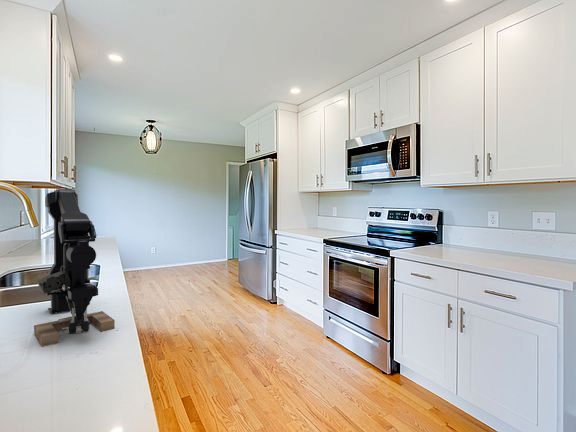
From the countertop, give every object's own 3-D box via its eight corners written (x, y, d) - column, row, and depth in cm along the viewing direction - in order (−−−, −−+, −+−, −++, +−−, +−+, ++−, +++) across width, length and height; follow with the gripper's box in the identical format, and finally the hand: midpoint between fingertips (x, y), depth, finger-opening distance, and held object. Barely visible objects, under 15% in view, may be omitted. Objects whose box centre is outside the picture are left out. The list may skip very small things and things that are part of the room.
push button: (60, 337, 85) (60, 301, 85) (63, 330, 90) (64, 295, 89) (89, 333, 88) (89, 298, 88) (91, 326, 93) (91, 293, 93)
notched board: (34, 334, 87) (34, 323, 87) (102, 318, 100) (102, 309, 99) (41, 346, 80) (41, 335, 79) (114, 328, 92) (114, 318, 92)
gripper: (33, 260, 89) (34, 315, 89) (47, 270, 76) (47, 334, 76) (79, 256, 97) (79, 306, 97) (98, 264, 84) (99, 322, 85)
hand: (76, 316), depth 89 cm, fingers open, 5 cm apart
